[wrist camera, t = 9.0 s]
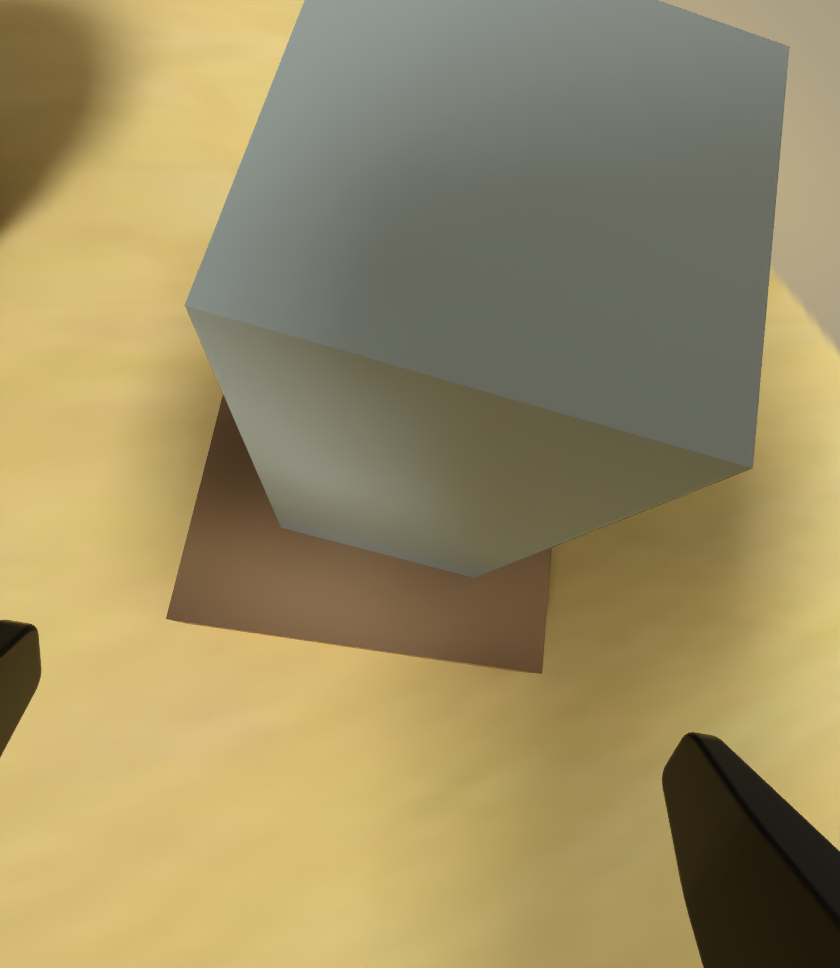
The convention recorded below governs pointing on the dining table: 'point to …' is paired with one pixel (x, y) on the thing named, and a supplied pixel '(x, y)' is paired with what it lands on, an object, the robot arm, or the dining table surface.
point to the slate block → (497, 270)
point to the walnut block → (343, 581)
